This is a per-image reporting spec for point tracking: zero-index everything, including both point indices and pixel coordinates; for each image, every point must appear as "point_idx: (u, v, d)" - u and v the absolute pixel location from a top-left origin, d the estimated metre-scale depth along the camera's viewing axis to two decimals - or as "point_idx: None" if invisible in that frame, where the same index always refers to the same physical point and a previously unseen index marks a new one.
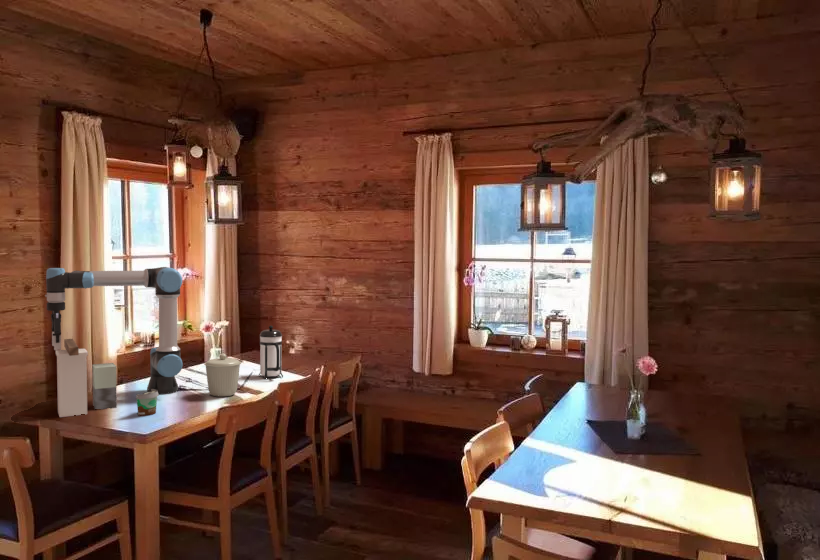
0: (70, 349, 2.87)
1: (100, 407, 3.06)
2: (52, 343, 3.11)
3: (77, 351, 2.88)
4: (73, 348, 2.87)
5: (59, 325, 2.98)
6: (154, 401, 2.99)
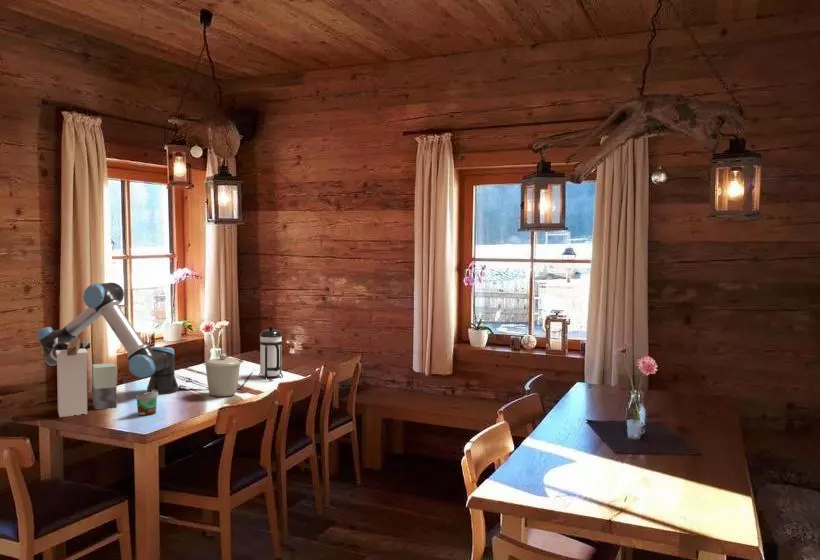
0: (68, 349, 2.87)
1: (100, 407, 3.06)
2: (86, 344, 3.24)
3: (75, 351, 2.88)
4: (71, 348, 2.87)
5: None
6: (154, 401, 2.99)
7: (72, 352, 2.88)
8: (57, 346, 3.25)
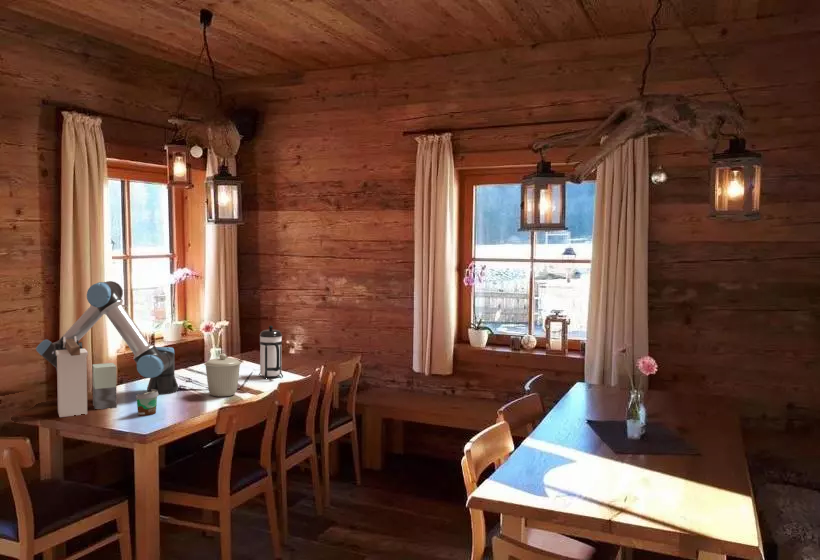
0: (72, 349, 2.87)
1: (100, 407, 3.06)
2: None
3: (79, 351, 2.89)
4: (75, 348, 2.88)
5: (54, 347, 3.10)
6: (154, 401, 2.99)
7: (76, 352, 2.88)
8: (64, 349, 3.12)
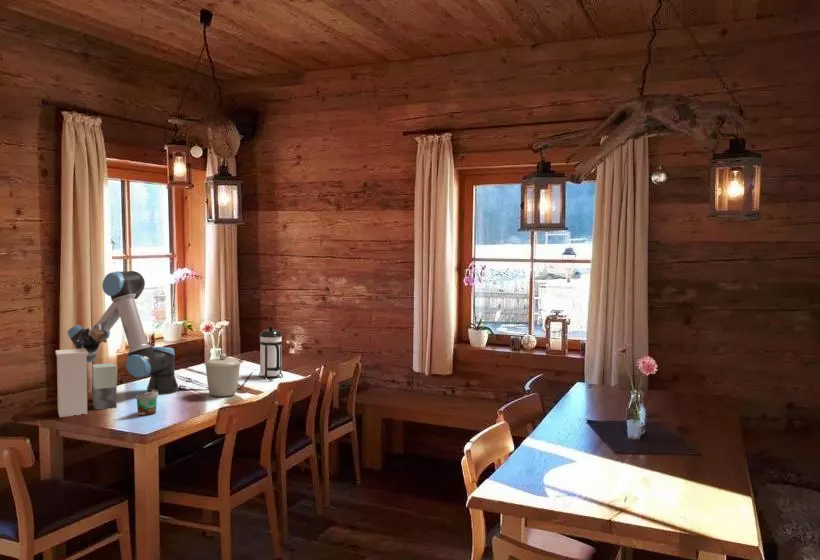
0: (97, 336, 2.99)
1: (100, 407, 3.06)
2: None
3: (104, 337, 3.01)
4: (100, 335, 3.00)
5: (80, 335, 3.22)
6: (154, 401, 2.99)
7: (101, 338, 3.00)
8: (89, 337, 3.25)
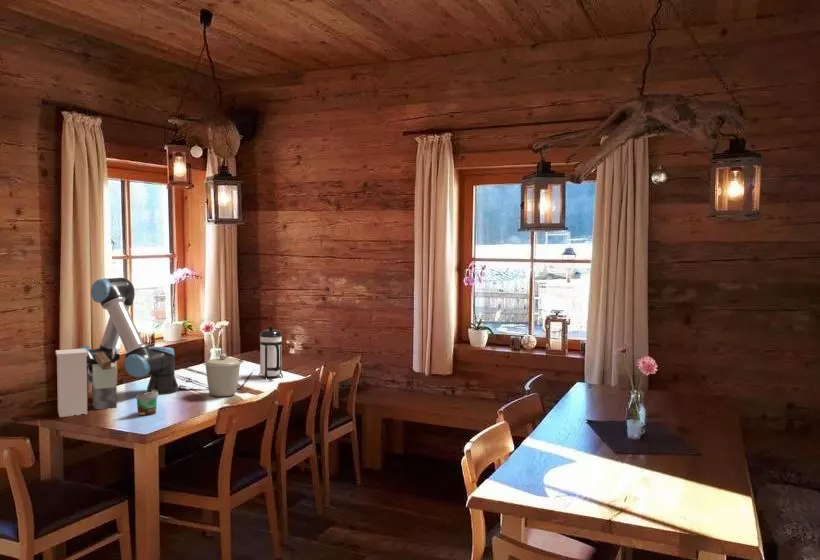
0: (103, 363, 3.00)
1: (100, 407, 3.06)
2: (113, 354, 3.22)
3: (110, 365, 3.02)
4: (106, 362, 3.01)
5: None
6: (154, 401, 2.99)
7: (107, 366, 3.01)
8: (90, 360, 3.25)
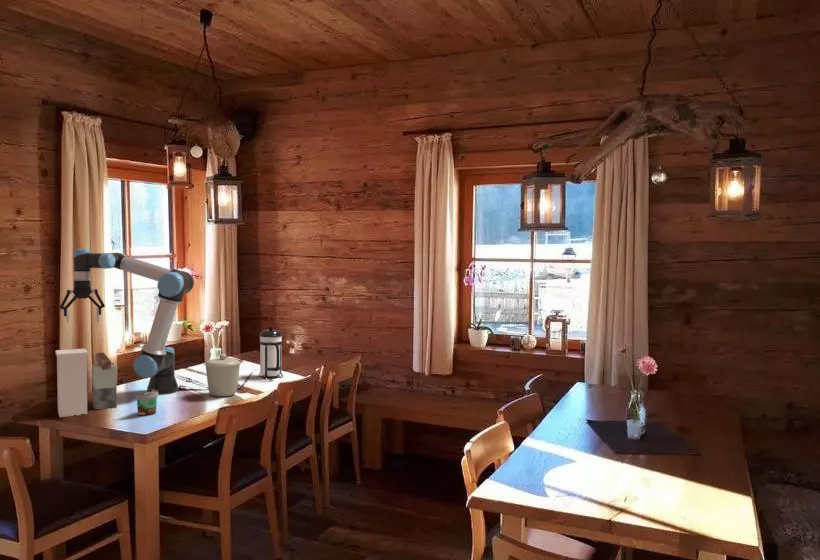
0: (103, 363, 3.00)
1: (100, 407, 3.06)
2: None
3: (110, 365, 3.01)
4: (106, 362, 3.00)
5: (63, 300, 3.26)
6: (154, 401, 2.99)
7: (107, 366, 3.01)
8: (73, 301, 3.30)
